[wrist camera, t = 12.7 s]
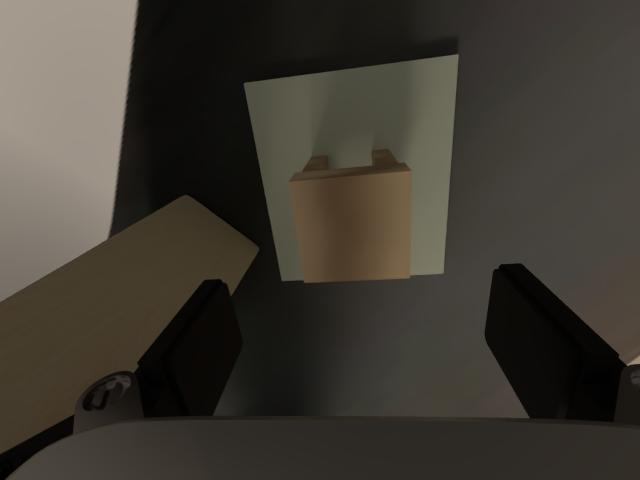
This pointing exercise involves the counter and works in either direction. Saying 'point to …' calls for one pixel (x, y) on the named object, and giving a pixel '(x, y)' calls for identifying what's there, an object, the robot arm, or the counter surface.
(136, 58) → the counter surface
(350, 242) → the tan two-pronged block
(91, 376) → the beige block
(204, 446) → the robot arm
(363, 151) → the sage mat
